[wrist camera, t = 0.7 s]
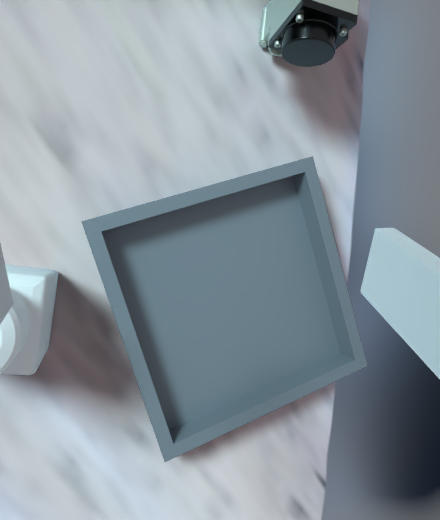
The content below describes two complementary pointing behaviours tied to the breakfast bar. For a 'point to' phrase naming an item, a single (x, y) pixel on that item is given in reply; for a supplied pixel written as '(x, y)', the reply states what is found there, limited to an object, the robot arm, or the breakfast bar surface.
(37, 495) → the breakfast bar surface
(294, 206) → the tray
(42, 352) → the medicine bottle
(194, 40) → the breakfast bar surface
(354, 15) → the pneumatic valve
